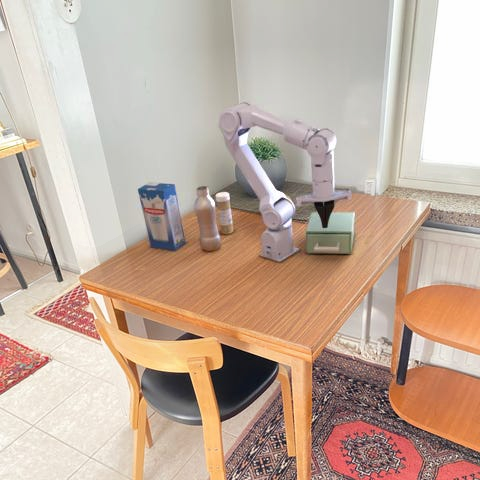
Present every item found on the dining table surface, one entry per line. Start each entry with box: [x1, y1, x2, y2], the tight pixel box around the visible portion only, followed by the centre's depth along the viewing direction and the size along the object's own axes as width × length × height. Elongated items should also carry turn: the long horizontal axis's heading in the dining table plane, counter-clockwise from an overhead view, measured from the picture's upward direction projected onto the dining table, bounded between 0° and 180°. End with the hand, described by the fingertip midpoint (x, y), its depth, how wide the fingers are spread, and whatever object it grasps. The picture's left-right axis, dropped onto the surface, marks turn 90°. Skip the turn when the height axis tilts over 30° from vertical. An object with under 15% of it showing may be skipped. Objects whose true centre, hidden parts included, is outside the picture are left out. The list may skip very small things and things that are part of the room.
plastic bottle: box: [193, 185, 222, 252], centre depth 150 cm, size 6×7×20 cm
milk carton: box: [137, 182, 186, 252], centre depth 156 cm, size 10×6×20 cm, turn 62°
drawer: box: [307, 233, 350, 254], centre depth 144 cm, size 18×12×6 cm, turn 166°
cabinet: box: [305, 211, 355, 255], centre depth 147 cm, size 14×13×7 cm
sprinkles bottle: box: [214, 191, 234, 235], centre depth 161 cm, size 5×5×14 cm
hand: (324, 226), depth 135 cm, fingers closed
